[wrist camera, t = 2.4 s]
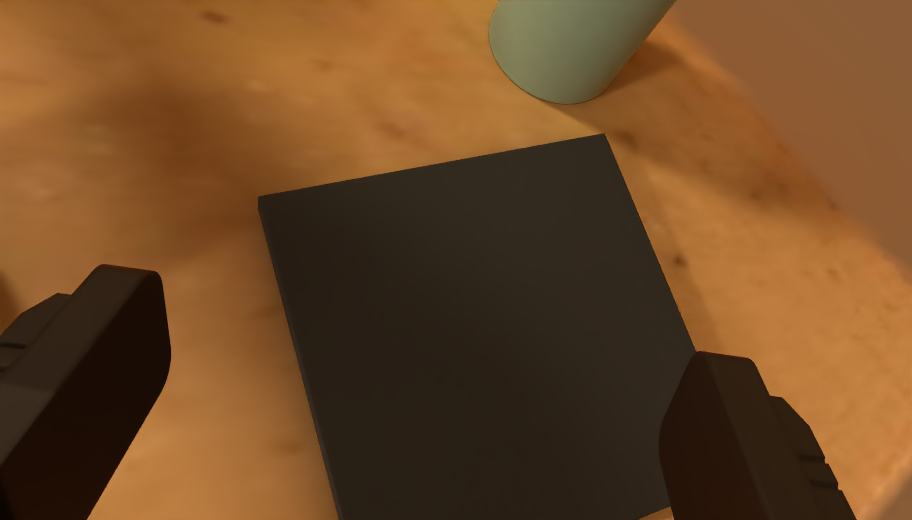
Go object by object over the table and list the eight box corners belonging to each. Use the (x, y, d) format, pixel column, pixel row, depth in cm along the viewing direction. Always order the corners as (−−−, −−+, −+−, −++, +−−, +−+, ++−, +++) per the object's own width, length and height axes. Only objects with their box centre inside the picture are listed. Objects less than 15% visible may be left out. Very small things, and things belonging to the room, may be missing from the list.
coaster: (257, 207, 24) (257, 195, 23) (594, 144, 28) (605, 132, 27) (366, 625, 20) (370, 631, 19) (730, 475, 25) (748, 474, 24)
